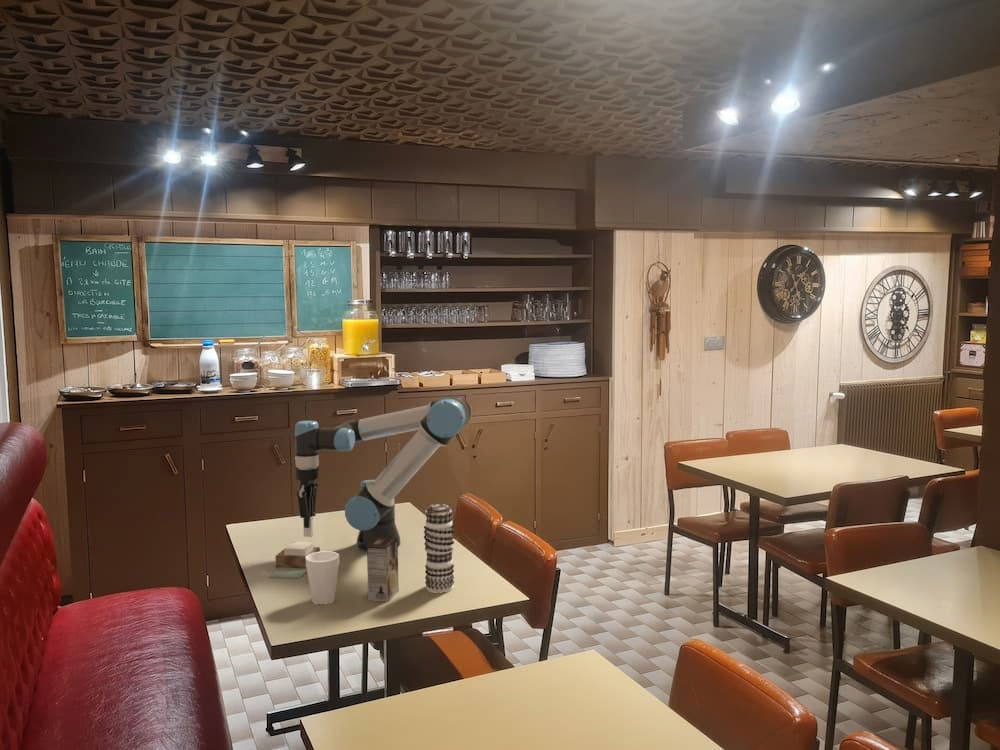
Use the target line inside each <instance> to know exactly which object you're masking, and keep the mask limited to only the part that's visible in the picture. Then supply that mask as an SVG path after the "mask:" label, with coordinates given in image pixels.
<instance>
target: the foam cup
mask: <svg viewBox="0 0 1000 750" xmlns="http://www.w3.org/2000/svg"><path fill="white" fill-rule="evenodd" d="M339 565H340V554H339V553H338V552H335V551H330V550H325V551H322V550H320V552H314V553H311V554H309V555H307V556H306V567H307V573H306V574H307V577H308V584H309V589H310V590H309V591H310V595H311V597H310V598H311V602H313V603H312V604H314V603H316V604H315V605H317V604H325V605H327V604H326V603H330V604H332V603H334V600H335V599H336V593H337V581H338V573H339ZM331 602H332V603H331Z"/></svg>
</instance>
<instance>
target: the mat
mask: <svg viewBox="0 0 1000 750" xmlns="http://www.w3.org/2000/svg"><path fill="white" fill-rule="evenodd" d="M306 572H307V569H305V568H284V567H280V568H276V570H275V571H274V572H272V573H271V574H270V575H268V578H269V579H271V578H270V577H273V578H272V579H287V578H300V579H301V578H303V577H304V576H305V575H306V574H307V573H306ZM305 573H306V574H305ZM304 574H305V575H304ZM303 575H304V576H303Z"/></svg>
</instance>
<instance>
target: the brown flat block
mask: <svg viewBox="0 0 1000 750" xmlns="http://www.w3.org/2000/svg"><path fill="white" fill-rule="evenodd" d="M320 551H321V548H320V547H317V546H313V550H312V551H310V552H309V553H308V554H307V555H309V554H311V553H314V552H320ZM307 555H306V556H307ZM306 556H293V555H284V549H283V550H281V551H280V552H279V553H277V554H276V555H275V568H276V569H278V568H280V567H284V568H305V569H307V567H306Z"/></svg>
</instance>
